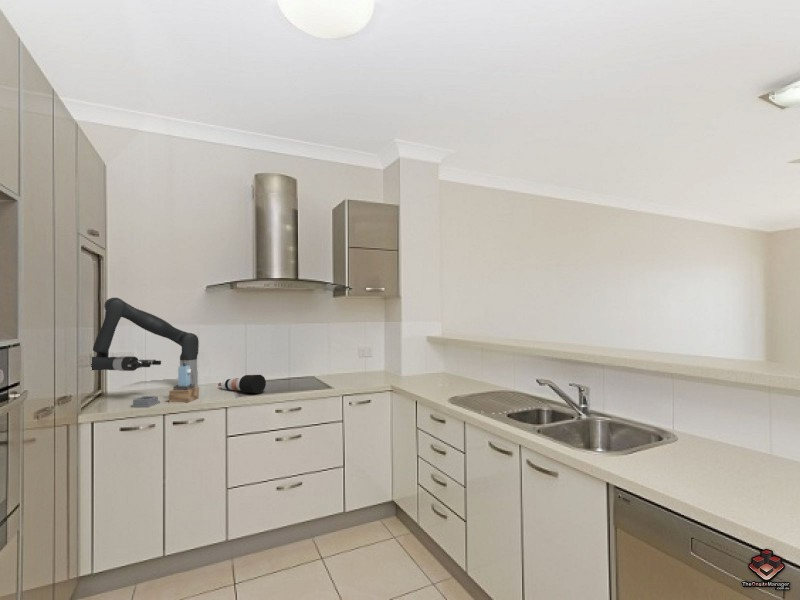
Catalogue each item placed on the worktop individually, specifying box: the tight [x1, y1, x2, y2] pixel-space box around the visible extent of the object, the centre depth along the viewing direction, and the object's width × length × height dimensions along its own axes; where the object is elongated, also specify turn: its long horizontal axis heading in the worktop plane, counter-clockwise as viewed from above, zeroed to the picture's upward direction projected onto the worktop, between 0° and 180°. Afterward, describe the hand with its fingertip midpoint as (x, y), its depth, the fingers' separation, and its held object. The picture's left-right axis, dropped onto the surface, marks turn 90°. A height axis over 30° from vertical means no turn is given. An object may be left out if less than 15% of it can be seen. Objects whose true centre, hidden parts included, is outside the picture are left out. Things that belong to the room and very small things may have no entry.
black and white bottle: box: [217, 374, 267, 394], centre depth 233 cm, size 10×34×10 cm, turn 60°
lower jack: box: [130, 395, 161, 408], centre depth 202 cm, size 9×9×4 cm
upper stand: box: [168, 384, 200, 404], centre depth 212 cm, size 10×10×8 cm
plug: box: [177, 360, 191, 386], centre depth 212 cm, size 4×5×15 cm
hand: (155, 363), depth 212 cm, fingers open, 8 cm apart
